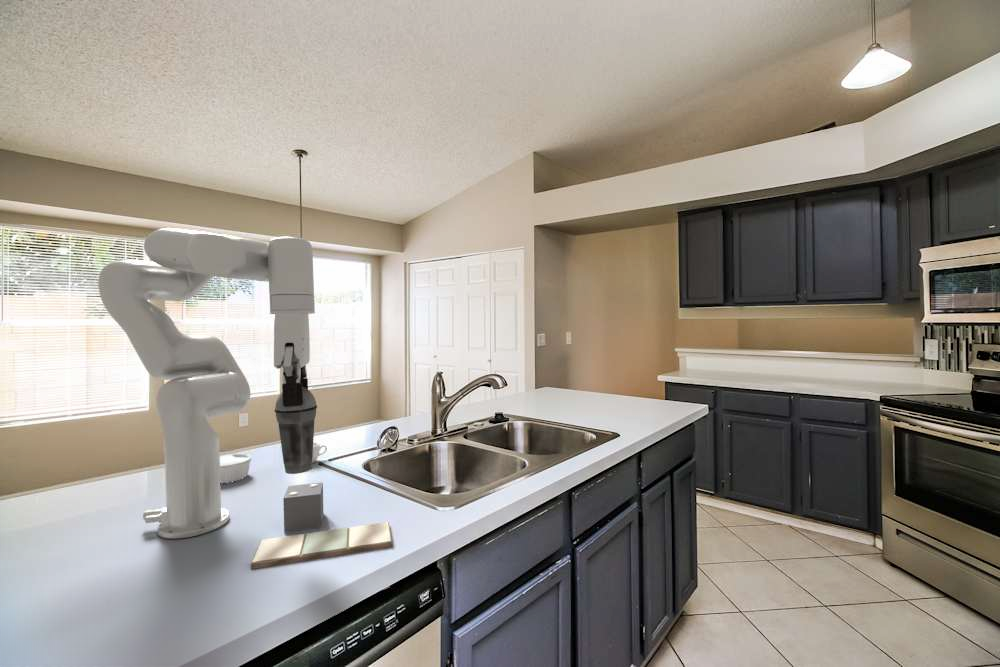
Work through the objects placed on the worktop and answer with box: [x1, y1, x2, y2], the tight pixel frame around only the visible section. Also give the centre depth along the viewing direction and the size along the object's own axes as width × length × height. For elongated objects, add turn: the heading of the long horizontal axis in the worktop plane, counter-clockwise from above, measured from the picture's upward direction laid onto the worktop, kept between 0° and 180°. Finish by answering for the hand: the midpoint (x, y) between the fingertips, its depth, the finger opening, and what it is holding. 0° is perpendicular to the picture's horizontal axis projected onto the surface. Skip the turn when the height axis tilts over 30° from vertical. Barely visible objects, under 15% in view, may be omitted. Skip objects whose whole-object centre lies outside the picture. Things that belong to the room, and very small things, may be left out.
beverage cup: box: [274, 387, 318, 475], centre depth 84 cm, size 7×7×20 cm
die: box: [283, 482, 324, 533], centre depth 96 cm, size 7×7×7 cm
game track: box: [250, 521, 393, 570], centre depth 86 cm, size 24×9×1 cm, turn 108°
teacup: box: [312, 441, 328, 464], centre depth 137 cm, size 10×8×5 cm
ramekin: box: [220, 453, 252, 484], centre depth 123 cm, size 11×11×5 cm
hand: (296, 401), depth 84 cm, fingers closed on beverage cup, 6 cm apart
